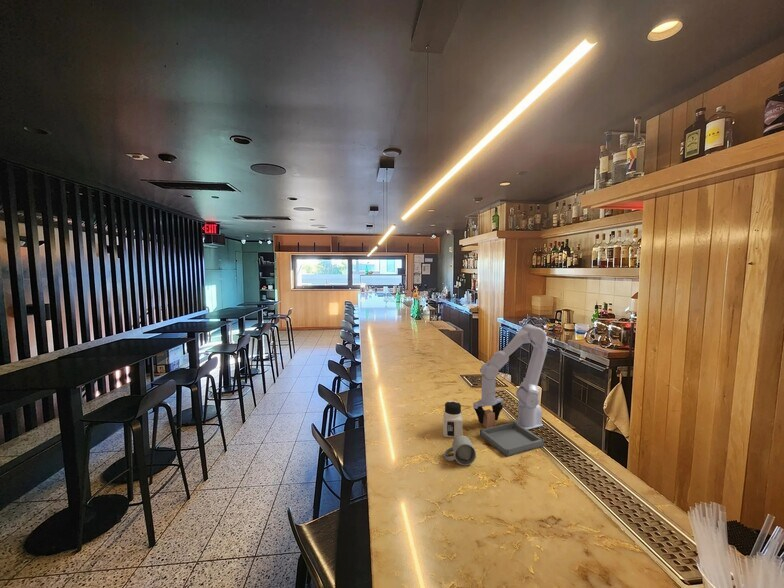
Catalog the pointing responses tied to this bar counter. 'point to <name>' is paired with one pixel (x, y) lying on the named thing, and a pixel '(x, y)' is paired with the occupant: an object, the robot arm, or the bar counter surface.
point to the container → (452, 420)
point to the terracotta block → (489, 418)
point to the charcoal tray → (511, 438)
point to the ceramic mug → (461, 451)
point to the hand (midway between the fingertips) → (488, 421)
